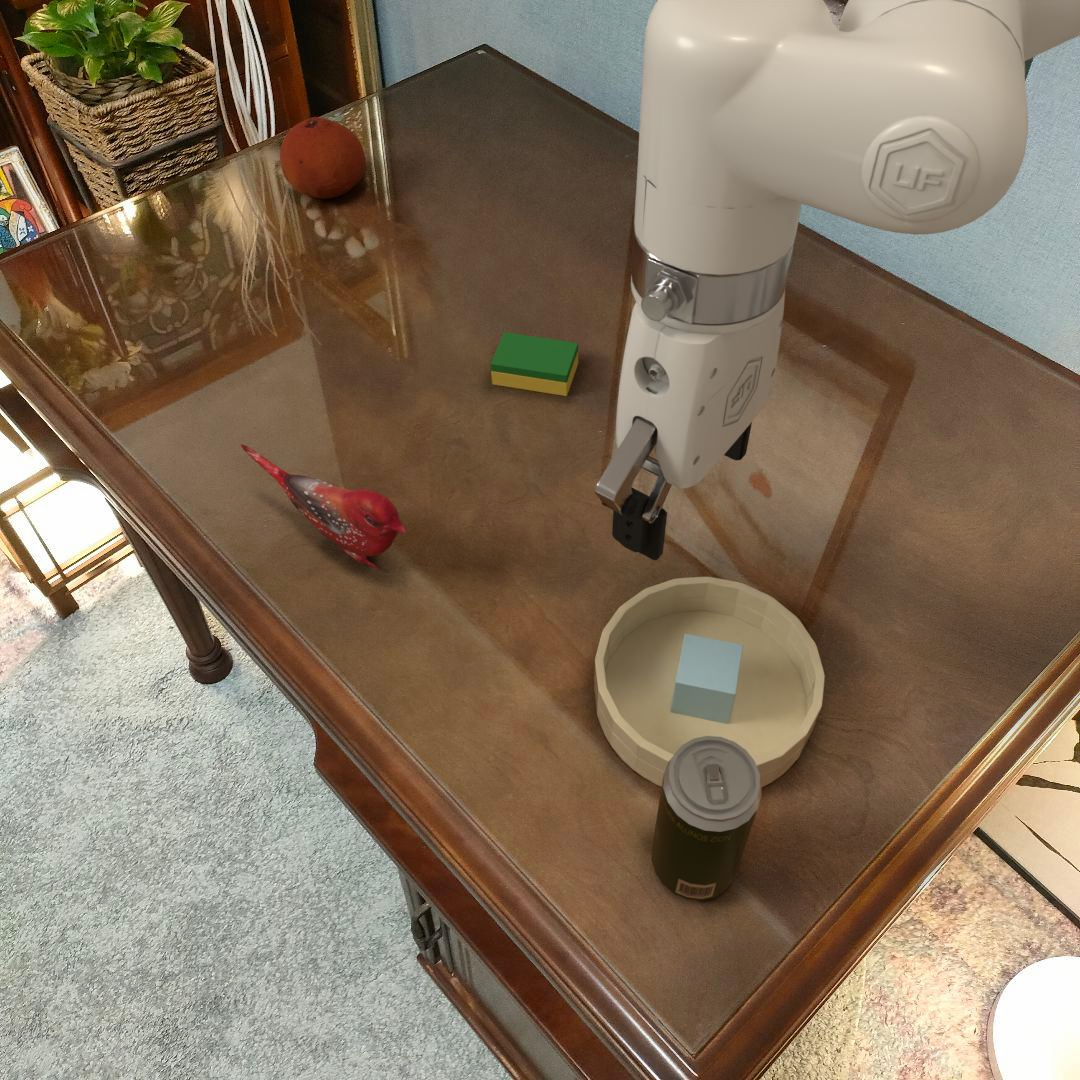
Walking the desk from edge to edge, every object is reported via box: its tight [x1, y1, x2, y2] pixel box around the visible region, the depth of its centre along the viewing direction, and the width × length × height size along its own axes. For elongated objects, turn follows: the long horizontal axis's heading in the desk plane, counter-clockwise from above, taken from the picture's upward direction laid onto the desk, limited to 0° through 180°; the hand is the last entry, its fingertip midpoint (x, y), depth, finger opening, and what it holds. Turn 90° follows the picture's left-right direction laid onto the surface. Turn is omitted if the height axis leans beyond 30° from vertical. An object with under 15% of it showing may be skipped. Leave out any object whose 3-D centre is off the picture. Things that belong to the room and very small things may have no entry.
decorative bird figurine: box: [240, 444, 408, 571], centre depth 77 cm, size 3×18×10 cm, turn 53°
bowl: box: [593, 576, 826, 789], centre depth 70 cm, size 15×15×4 cm
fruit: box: [279, 116, 367, 200], centre depth 110 cm, size 9×9×8 cm
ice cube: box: [671, 634, 743, 724], centre depth 70 cm, size 4×4×4 cm
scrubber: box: [490, 331, 579, 397], centre depth 92 cm, size 7×4×2 cm, turn 76°
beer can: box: [651, 736, 763, 902], centre depth 60 cm, size 5×5×12 cm
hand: (680, 496), depth 62 cm, fingers open, 9 cm apart
